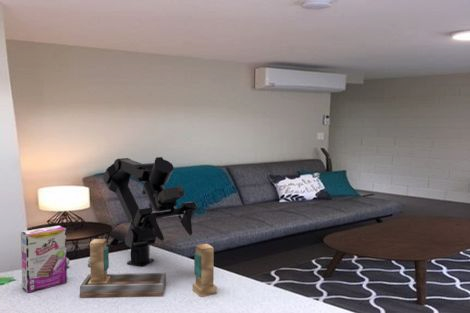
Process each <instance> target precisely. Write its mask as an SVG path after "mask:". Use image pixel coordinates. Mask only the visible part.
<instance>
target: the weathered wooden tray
mask: <svg viewBox="0 0 470 313" xmlns="http://www.w3.org/2000/svg"><path fill="white" fill-rule="evenodd" d="M91 241H92V242H91ZM91 241H90V242H91V243H89V244H90V245H89V258H90V267H89V268H90V273H88V275H87V276H86V277H85V279H84V280H83V282H82V283H81V284H80V285H79V299H91V298H93V299H96V298H100V299H101V298H134V297H135V298H140V297H141V298H144V297H145V298H146V297H148V298H149V297H163V296H164V292H165V288H166V283H167V278H166V277H167V273H166V272H144V273H143V272H141V273H140V272H139V273H137V272H136V273H131V272H130V273H108V269H109V267H110V264H109V262H110V261H109V260H110V258H109V256H110V255H109V254H110V253H109V246H107V238H94V239H92V240H91Z"/></svg>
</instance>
